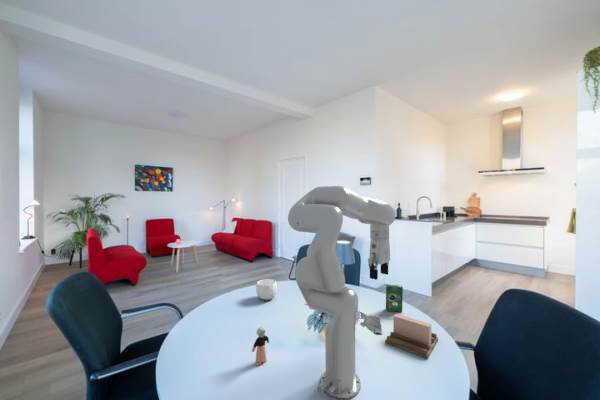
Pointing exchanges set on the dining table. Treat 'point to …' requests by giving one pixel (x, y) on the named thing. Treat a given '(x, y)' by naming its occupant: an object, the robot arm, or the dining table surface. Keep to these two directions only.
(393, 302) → the coffee box
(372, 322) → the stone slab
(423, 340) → the tan flat block
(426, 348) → the rack
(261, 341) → the grandmother figurine
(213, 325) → the dining table surface
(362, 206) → the robot arm
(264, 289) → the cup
